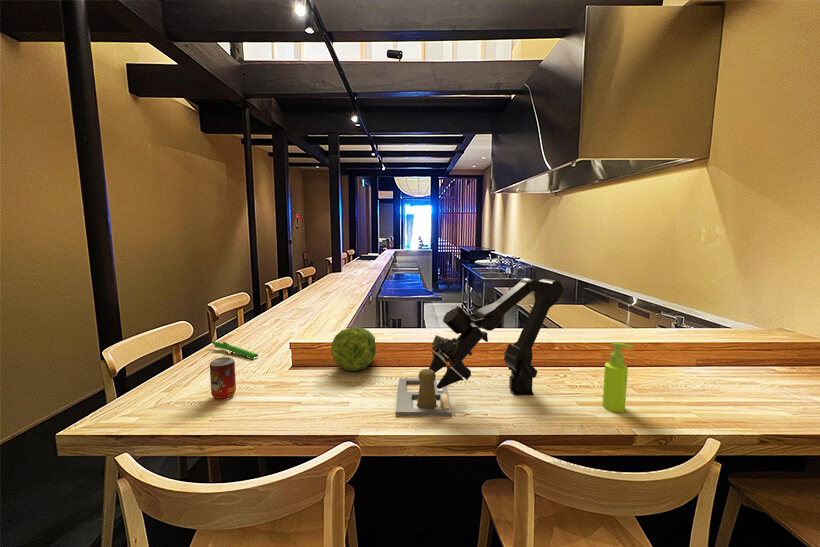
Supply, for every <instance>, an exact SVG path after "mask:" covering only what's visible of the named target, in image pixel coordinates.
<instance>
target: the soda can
mask: <svg viewBox="0 0 820 547" xmlns="http://www.w3.org/2000/svg"><path fill="white" fill-rule="evenodd" d="M235 363H236V362H235V358H232V357H229V356H222V357H217V358H214V359H212V360H211V361H210V362H209V378H210V379H209V380H210V393H211V396H212V397H213V398H214V400H215V401H225V400H224V399H226V400H228V399H227V398H229V399H231V398H233V397H234V396H235V393H236V390H237V389H236V388H237V383H236V382H237V381H236V379H237V378H236V364H235ZM233 395H234V396H233ZM232 396H233V397H232ZM230 397H231V398H230Z"/></svg>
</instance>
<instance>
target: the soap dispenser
mask: <svg viewBox="0 0 820 547" xmlns="http://www.w3.org/2000/svg"><path fill="white" fill-rule="evenodd" d="M611 346H612V347H613V352H610V355H609V358H610V359H609V362H605V363H604V371H603V372H604V373H603V374H604V375H603V391H602V392H603V393H602V405H601V406H602V407H603V408H604V409H605V410H607V411H610V412H614V413H623V412H625V411H626V401H627V400H626V397H627V386H628V384H627V383H628V373H629V372H628V370H629V367H628V366H627V365H626V364H624V354H623V353H621V350H622V348H626V349H630V350H633V349H634V347H635V346H634V345H632V344H629V343H623V342H612V343H611Z"/></svg>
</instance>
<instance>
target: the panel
mask: <svg viewBox="0 0 820 547" xmlns="http://www.w3.org/2000/svg"><path fill="white" fill-rule="evenodd" d="M441 379H442V377H441V378H440V377H439V378H437V377H436V378H435V381H434V387H435V395H436V399H439V401H440V406H441V408H434V409H420V408H412V407H413V406H412V404H413V403H412V402H413V401H412V399H418V395H419V391H407V385H413V384H414V385H418V384H419V385H420V380H419V377H418V378H417V377H415V378H414V377H399V378H398V387H397V397H396V407H395V408H396V409H395V416H396V415H399V416H398V417H452V408H451V407H452V406H451V403H450V400H449V399H450V397H449V394H448V390H447V386H445V387H443V388H441V389H438V388H437V385H438V383H439V382H440V380H441Z"/></svg>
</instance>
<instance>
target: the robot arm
mask: <svg viewBox="0 0 820 547" xmlns="http://www.w3.org/2000/svg"><path fill="white" fill-rule="evenodd" d="M564 290H565V288H564V286H563V284H562V283H561V282H560V281H558V280H553V279H548V278H542V279H540V280H539V279H538V280H535V279H533V278H528V277H524V278H522V279H520V280H519V282H518V283H516V285H514V286H513V287H512V288H510V289H509V290H508V291H507V292H505V293H504V294H503V295H502V296H500V298H498V299H497V300H496V301H495V302H492V303H490V304H487V305H483V306H482V307H480V308H479V309H477V310H475V311H474V312H472V313H466V312H465V310H464V309H463V308H462V307H461V306H459V305H457V306H456V307H455V308H452V309H451V310H449V311H447V312H446V313H445V314H444V316H443V318H442V322H443V323H444V324H445V325H446V326H447V327H448V328H449V330H451V331H453V333H455V334H456V335H458V336H457V338H456V337H453V338H451V339H450V338H448V337H446V338H444V337H442V336H440V335H438V334H436V335H435V336H434V339H433V342H432V344H431V345H432V347H431V349H432V350H431V354H432V360H431V363H430V365H429V367H428V369H431V370H433V371H434V372H435V374H436V373H437V372H439V371H440V370H442V369H443V368H444V367H445V366H446V371H445V373H444V375H443V376H442V377H441V378H442V379H441V380H440V382H439V383H438V385H437V388H438V389H441V388H443V387H445V386H446V387H448V386H450V385H452V384H455V383H457V382H460V381H465V380H466V381H468V380H469V379H470V377H471V376H472V371H471V369H469V368H468V367H467V366H466V365H465V364H464V362H463V361H464V360H465V359H466V358H467V356H470V357H471V356H472V355H473V352H472V351H473V349H474V348H475V347H477V345H478V344H479V342H480V341H481V340H482V341H484V342H486V343H488V342H489V339H488V338H489V337H488V331H494V330H495V329H496V328H497V327H498V326H499V325H500V323H502V320H503V318H504V316H505V315H506V314H507V313H508V312H509V311H510V310H511V309H513V308H514V307H515V306H516V305H518V304H519V303H520V302H521V301H523V299H525V298H526V297H527V296H528V295H529V294H531V293H534V294H533V296H534V304H533V306H532V308H531V310H530V312H529V314H528V317H527V319H526V321H525V324H524V326H523V327H522V330H521V332H520V335H519V336H518V339H517V341H515V343H513V344H512V343H508V344H507V347H506V350H505V352H504V353H503V355H504V357H503V360H504V364H505V365H506V366H507V368H508V370H509V371H510V375H509V379H508V381H509V382H508V388H509V390H510V391H511V392H512V394H513V395H514V396H534V395H535V394H534V392H533V379H534V378H536V376H537V374H538V370H537V369H536V368H535V367H534V366H533V365H532V362H533V347H534V344H535V342H536V340H537V337H538V335H539V332H540V331H541V329H542V326H543V324H544V322H545V319H546V317H547V315H548V313H549V311H550V309H551V308H552V307H553V306H555V304H557V303H558V302H559V300H560V299H561V297H562V295H563V294H564ZM473 325H474V326H473ZM480 328H481V329H483V331H482V330H481V329H480ZM484 330H485V331H484ZM447 363H448V364H447Z"/></svg>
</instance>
